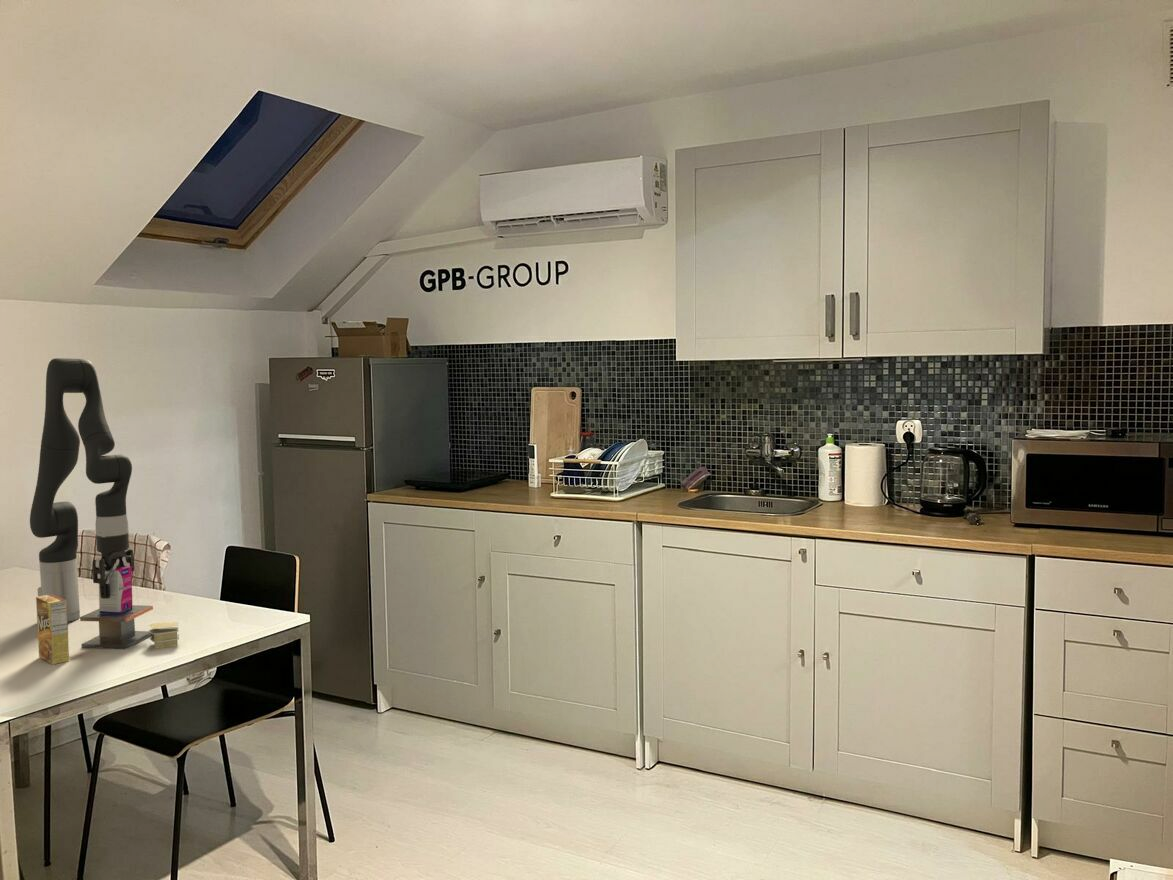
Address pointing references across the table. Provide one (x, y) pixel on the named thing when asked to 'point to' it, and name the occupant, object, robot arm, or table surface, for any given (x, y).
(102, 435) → the robot arm
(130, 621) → the stand
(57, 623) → the candy box
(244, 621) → the table surface
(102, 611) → the supplement box
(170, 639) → the tan layered block
